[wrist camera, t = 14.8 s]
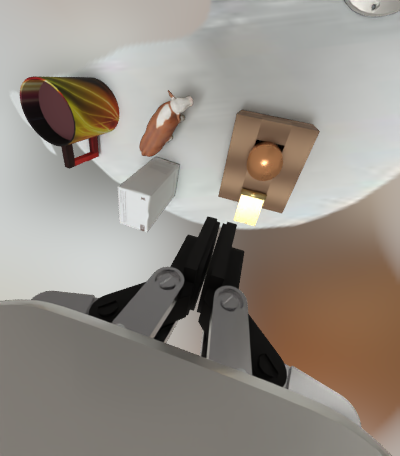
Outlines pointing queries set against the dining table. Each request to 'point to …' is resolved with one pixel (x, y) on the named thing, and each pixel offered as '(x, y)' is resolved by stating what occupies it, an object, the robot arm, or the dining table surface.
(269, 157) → the orange-brown domed cylinder
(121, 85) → the dining table surface
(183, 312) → the robot arm
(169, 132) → the bull figurine
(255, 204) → the plate
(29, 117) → the mug
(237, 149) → the block
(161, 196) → the skincare box
